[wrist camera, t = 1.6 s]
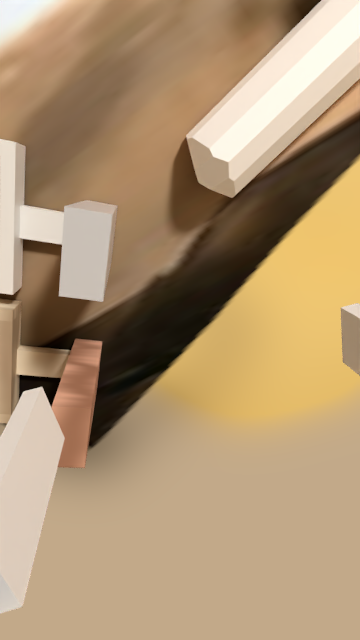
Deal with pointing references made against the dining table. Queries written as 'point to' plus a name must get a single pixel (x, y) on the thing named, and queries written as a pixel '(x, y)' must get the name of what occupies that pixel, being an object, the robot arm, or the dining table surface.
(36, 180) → the dining table surface
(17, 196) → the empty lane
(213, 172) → the crystal
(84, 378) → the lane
